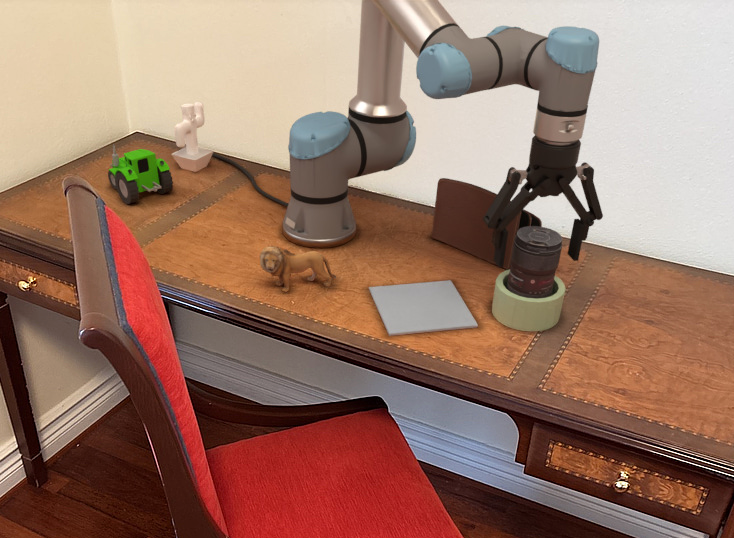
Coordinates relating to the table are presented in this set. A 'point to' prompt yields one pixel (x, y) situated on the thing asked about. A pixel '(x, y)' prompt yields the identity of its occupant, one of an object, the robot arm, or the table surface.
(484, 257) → the letter holder
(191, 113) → the figurine
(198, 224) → the table surface
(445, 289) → the mat
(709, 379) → the table surface
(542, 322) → the bowl
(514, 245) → the camera lens
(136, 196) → the toy tractor
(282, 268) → the lion figurine
